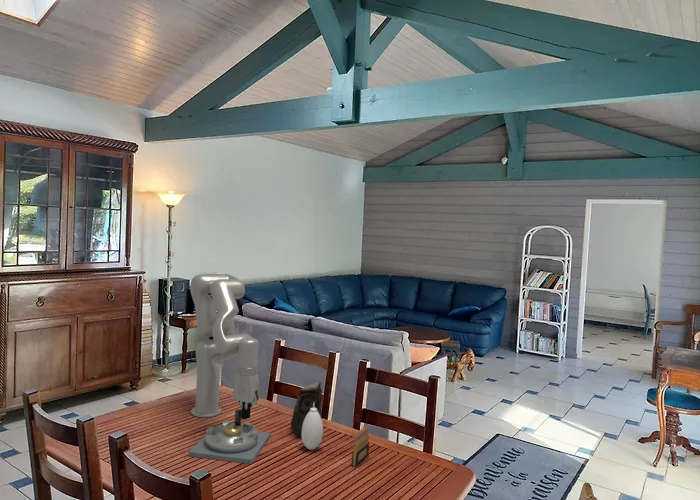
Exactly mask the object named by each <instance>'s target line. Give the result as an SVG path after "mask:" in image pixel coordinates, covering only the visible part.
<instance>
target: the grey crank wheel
mask: <svg viewBox="0 0 700 500" xmlns="http://www.w3.org/2000/svg"><path fill="white" fill-rule="evenodd" d="M241 410H242V408H241V409H240V408H236V409H235V410H234V411H235V412H234V423H233V422H232V421H231V420H225V421H222V423H221V424H218V425H215V426H208V427H207V429H206V433H205V436H206V439H205V444H206V446H207V447H208V448H209V449H211V450H213V451H217V452H222V453H236V452H242V451H246V450H249V449H251V448H253V447H254V446H256V444H257V443H258V432H259V430H258V429H257V428H256V427H254V424H253V423H251V422H250V421H245V422H243V423H242V419H241Z"/></svg>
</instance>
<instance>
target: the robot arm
mask: <svg viewBox="0 0 700 500" xmlns="http://www.w3.org/2000/svg"><path fill="white" fill-rule="evenodd" d="M189 290H190V294H191V298H192V301H193V303H194V307H195V319H196V329H197V333H198V335H199V336H200V337H203V338H205V337H208V338H209V337H212V338H213V339H205V340H202V341H200V342H199V343H197V345H196V347H195V357H196V358H195V359H196V387H195V405H194V407H192V409H191V410H190V411H191V412H190V413H191V415H192V416H194V417H197V418H213V417H217V416H219V415H220V414H222V412H223V410H222V407H220V406H219V402H220V400H221V398H220V397H219V395H220V379H221V378H220V375H221V373H220V368H218V366H217V365H216V362H223V361H229V360H233V359H234V358H235V357H236V356H237V366H236V371H237V372H236V374H235V375H234V381H233V388H232V398H233V399H235V401H237V402H238V403H239V406H240V408H241V420H244V421H245V420H247V419H250V418H251V410H252V407H255V406H256V407H257V405H258V401H259V399H260V379H259V375H258V369H259V368H258V366H259V364H258V363H259V346H260V345H259V339H257V338H254V337H252V336H251V335H250V334H248V333H242V334H241V333H240V334H236V327H235V322H234V318H235V317H236V316H237V315H238V314H239V307H238V306H239V305H238V304H237V299H242V298H243V297H244V295H245V294H246V287H245V284H244V282H243V281H242V280H241V279H239V278H238V277H236V276H234V275H232V274H230V273H229V274H228V273H202V274H197V275H195V276H193V277H192V278H191V281H190V286H189ZM209 294H210V295H211V296H210V295H209Z"/></svg>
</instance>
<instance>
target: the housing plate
mask: <svg viewBox="0 0 700 500" xmlns="http://www.w3.org/2000/svg"><path fill="white" fill-rule="evenodd" d="M271 435H272V434H271V433H270V432H264V431H258V443H257V444H256V446H254V447H253V448H251V449H249V450H246V451H242V452H236V453H222V452H217V451H213V450H211V449H209V448H208V447H207V446H206V444H205V439H206V435H204V436H203V438H201V439H200V440H199V441H198V442H197V443H196V444H195V445H194V446H193V447H192V448H191V449H190V450H189V451H188V455H187V457H192V458H199V459H200V458H201V459H208V460H214V461H215V460H218V461H225V462H233V463H241V464H250V465H252V464H253V463H254V461H255V460H256V459H257V457H258V455H259V454H260V453H261V451H262V450H263V449H264V447H265V446H266V444H267V443H268V441H269V440H270V439H271V437H272V436H271Z"/></svg>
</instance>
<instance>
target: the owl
mask: <svg viewBox="0 0 700 500" xmlns="http://www.w3.org/2000/svg"><path fill="white" fill-rule="evenodd" d="M321 385H322V382H321V381H318V382H315V383H311V384H309V385H306V386H304V387H302V388H300V389H299V390H298V393H297V397H296V403H295V405H294V408H293V412H292V417H291V421H290V429H291V430H292V432H293V434H294V435H295V436H296V438H297V439H301V440H302V436H301V432H302V425H303V422H304V419H305V417H306V415H307V414H308V412H309V411H310V408H313V403H314V408H317V411H318V413H319V415H320V417H321V418H322V416H323V414H322V410H323V409H322V407H321V405H322V404H321V403H322V398H323V390H322V386H321Z"/></svg>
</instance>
